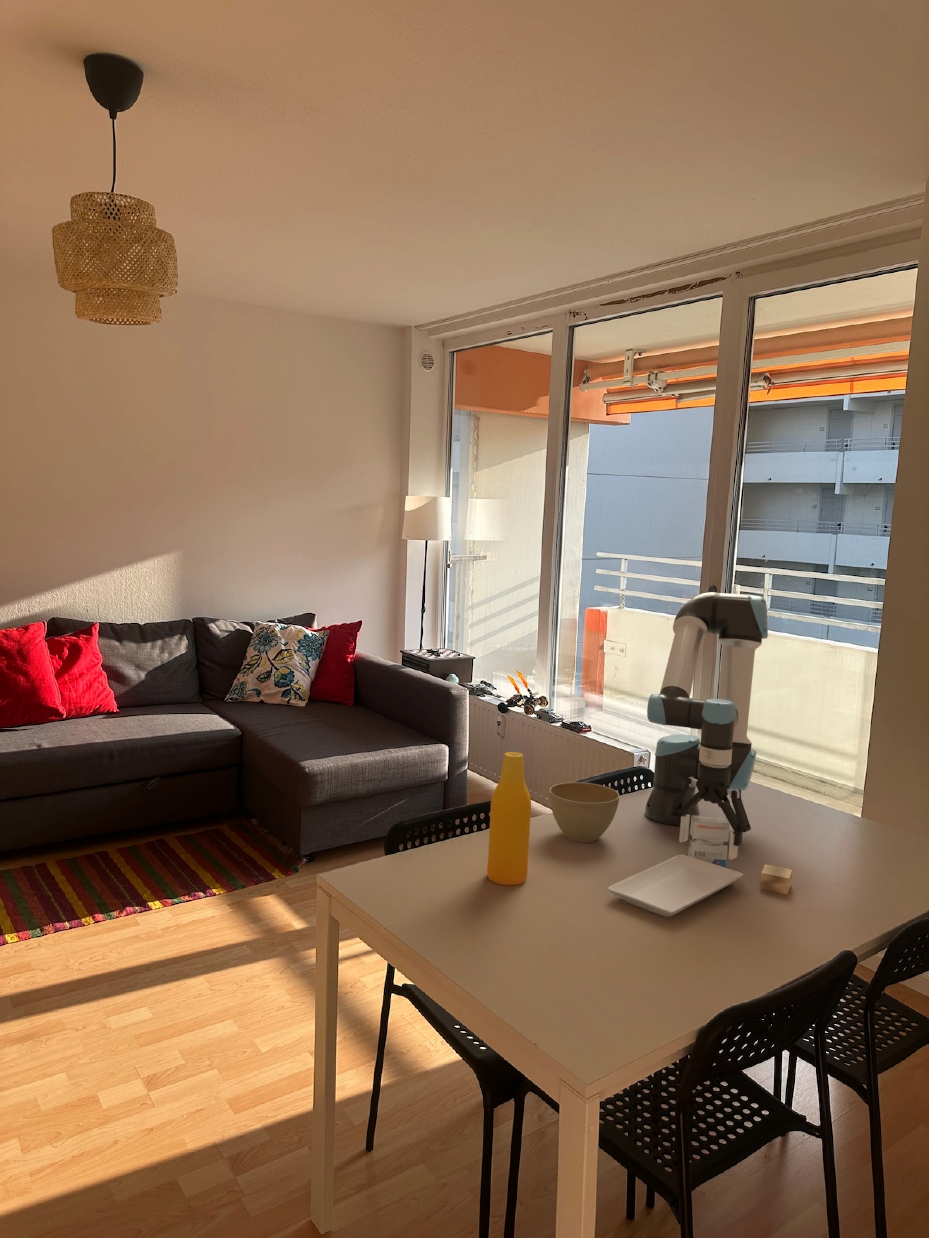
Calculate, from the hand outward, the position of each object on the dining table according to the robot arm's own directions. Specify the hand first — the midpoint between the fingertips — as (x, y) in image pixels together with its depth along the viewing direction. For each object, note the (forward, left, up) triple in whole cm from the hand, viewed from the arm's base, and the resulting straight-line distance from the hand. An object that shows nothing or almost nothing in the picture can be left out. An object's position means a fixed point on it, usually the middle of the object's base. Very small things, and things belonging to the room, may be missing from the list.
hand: (707, 849), depth 216 cm
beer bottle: (-24, -45, -4) cm, 51 cm away
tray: (+5, -20, -5) cm, 21 cm away
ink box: (0, 0, -4) cm, 4 cm away
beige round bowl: (-31, -10, -4) cm, 33 cm away
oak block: (+17, +2, -4) cm, 18 cm away
